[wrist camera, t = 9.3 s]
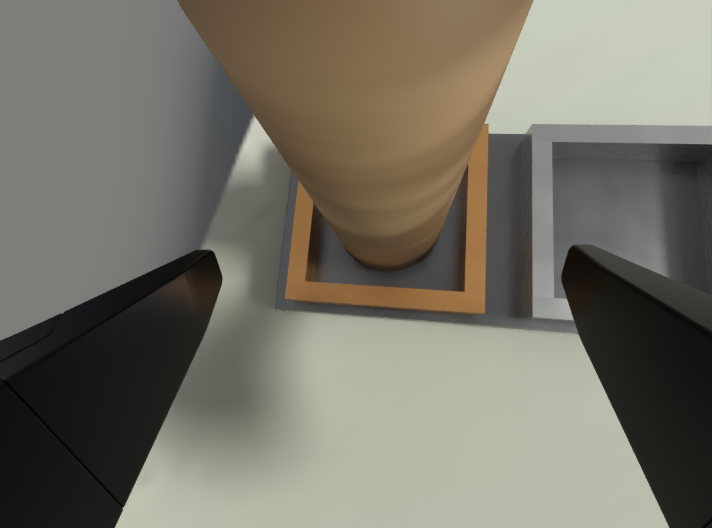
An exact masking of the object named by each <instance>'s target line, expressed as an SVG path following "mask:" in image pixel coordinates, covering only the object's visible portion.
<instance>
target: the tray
mask: <svg viewBox="0 0 712 528" xmlns="http://www.w3.org/2000/svg"><path fill="white" fill-rule="evenodd" d="M576 244H590V245H593V246H596V247H598V248H600V249H603V250H605V251H607V252H610V253H612V254H614V255H617V256H619V257H621V258H624V259H626V260H628V261H631V262H633V263H635V264H638V265H640V266H642V267H645V268H647V269H649V270H652V271H654V272H656V273H659V274H661V275H663V276H666V277H668V278H670V279H672V280H675V281H677V282H679V283H682V284H684V285H686V286H689V287H691V288H693V289H696V290H698V291H700V292H703V293H705V294H707V295H710V296H712V126H658V125H555V124H532V125H531V127H530V128H529V130H528V131H527V133H526V134H488V124H484V125H483V127H482V130H481V132H480V135H479V137H478V140H477V142H476V145H475V147H474V150H473V152H472V155H471V157H470V160H469V162H468V165H467V167H466V170H465V172H464V175H463V177H462V180H461V182H460V185H459V187H458V189H457V192H456V194H455V197H454V199H453V202H452V204H451V207H450V209H449V212H448V214H447V217H446V219H445V222H444V224H443V227H442V229H441V232H440V234H439V237H438V239H437V241H436V244H435V246H434V247H433V249H432V250H431V252H430V253H429V254H428V255H427V256H426V257H425V258H424V259H423V260H422V261H420V262H419V263H417V264H416V265H414V266H412V267H410V268H408V269H405V270H401V271H396V272H381V271H376V270H372V269H369V268H367V267H365V266H363V265H361V264H360V263H358V262H357V261H356V260H355V259H353V258H352V257H351V256H350V254H349V253H348V252H347V250H346V249H345V248H344V246H343V245H342V243H341V242H340V240H339V239H338V237H337V236H336V234H335V233H334V231H333V230H332V228H331V227H330V226H329V224H328V223H327V221H326V220H325V218H324V217H323V215H322V214H321V212H320V211H319V209H318V208H317V206H316V205H315V204H314V202H313V201H312V199H311V198H310V196H309V195H308V193H307V192H306V190H305V189H304V187H303V186H302V184H301V183H300V182H299V180H298V179H297V177H296V176H295V174H294V173H293V171H292V170H291V179H290V187H289V195H288V204H287V212H286V221H285V229H284V237H283V246H282V254H281V263H280V271H279V279H278V288H277V296H276V304H275V309H279V310H289V311H302V312H314V313H327V314H340V315H353V316H366V317H378V318H391V319H404V320H417V321H430V322H442V323H455V324H468V325H481V326H494V327H506V328H519V329H532V330H545V331H557V332H570V333H578V331H577V328H576V325H575V322H574V319H573V316H572V313H571V310H570V307H569V304H568V301H567V298H566V295H565V292H564V288H563V285H562V282H561V273H562V270H563V266H564V263H565V260H566V256H567V253H568V250H569V248H570V247H571V246H572V245H576Z"/></svg>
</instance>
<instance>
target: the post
mask: <svg viewBox="0 0 712 528" xmlns="http://www.w3.org/2000/svg"><path fill="white" fill-rule="evenodd" d="M178 2H179V4H180V6H181V8H182V10H183V11H184V13H185V14H186V16H187V17H188V19H189V20H190V22H191V23H192V24H193V26H194V27H195V29H196V30H197V32H198V33H199V35H200V36H201V37H202V39H203V41H204V42H205V43H206V45H207V46H208V48H209V49H210V51H211V52H212V54H213V55H214V57H215V58H216V60H217V61H218V63H219V64H220V65H221V67H222V69H223V70H224V71H225V73H226V74H227V76H228V77H229V79H230V80H231V82H232V83H233V85H234V86H235V88H236V89H237V90H238V92H239V93H240V95H241V96H242V98H243V99H244V101H245V102H246V104H247V105H248V107H249V108H250V109H251V111H252V113H253V114H254V115H255V117H256V118H257V120H258V121H259V123H260V124H261V126H262V127H263V129H264V130H265V132H266V133H267V135H268V136H269V137H270V139H271V140H272V142H273V143H274V145H275V146H276V148H277V149H278V151H279V152H280V154H281V155H282V157H283V158H284V159H285V161H286V162H287V164H288V165H289V167H290V168H291V170H292V171H293V173H294V174H295V176H296V177H297V179H298V180H299V182H300V183H301V184H302V186H303V187H304V189H305V190H306V192H307V193H308V195H309V196H310V198H311V199H312V201H313V202H314V204H315V205H316V206H317V208H318V209H319V211H320V212H321V214H322V215H323V217H324V218H325V220H326V221H327V223H328V224H329V226H330V227H331V228H332V230H333V231H334V233H335V234H336V236H337V237H338V239H339V240H340V242H341V243H342V245H343V246H344V248H345V249H346V250H347V252H348V253H349V254H350V256H351V257H352V258H353V259H355V260H356V261H357V262H358V263H360V264H361V265H363V266H365V267H367V268H369V269H372V270H376V271H381V272H396V271H401V270H405V269H408V268H410V267H412V266H414V265H416V264H417V263H419V262H420V261H422V260H423V259H424V258H425V257H426V256H427V255H428V254H429V253H430V252H431V250H432V249H433V247H434V246H435V244H436V241H437V239H438V237H439V234H440V232H441V229H442V227H443V224H444V222H445V219H446V217H447V214H448V212H449V209H450V207H451V204H452V202H453V199H454V197H455V194H456V192H457V189H458V187H459V185H460V182H461V180H462V177H463V175H464V172H465V170H466V167H467V165H468V162H469V160H470V157H471V155H472V152H473V150H474V147H475V145H476V142H477V140H478V137H479V135H480V132H481V130H482V127H483V125H484V122H485V120H486V117H487V115H488V112H489V110H490V107H491V105H492V102H493V100H494V97H495V95H496V92H497V90H498V87H499V85H500V82H501V80H502V77H503V75H504V72H505V70H506V67H507V65H508V62H509V60H510V57H511V55H512V52H513V50H514V47H515V45H516V43H517V40H518V38H519V35H520V33H521V30H522V28H523V25H524V23H525V20H526V18H527V15H528V13H529V10H530V8H531V5H532V3H533V0H178Z"/></svg>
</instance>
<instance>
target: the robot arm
mask: <svg viewBox="0 0 712 528" xmlns="http://www.w3.org/2000/svg"><path fill="white" fill-rule="evenodd" d="M561 282H562V285H563V288H564V292H565V295H566V298H567V301H568V304H569V307H570V310H571V313H572V316H573V319H574V322H575V325H576V328H577V331H578V334H579V336H580V338H581V341H582V343H583V345H584V347H585V349H586V352H587V354H588V356H589V358H590V360H591V362H592V364H593V366H594V369H595V371H596V373H597V375H598V377H599V379H600V381H601V383H602V386H603V388H604V390H605V392H606V394H607V396H608V398H609V400H610V402H611V405H612V407H613V409H614V411H615V413H616V415H617V417H618V419H619V422H620V424H621V426H622V428H623V430H624V432H625V434H626V436H627V439H628V441H629V443H630V445H631V447H632V449H633V451H634V453H635V456H636V458H637V460H638V462H639V464H640V466H641V468H642V470H643V473H644V475H645V477H646V479H647V481H648V483H649V485H650V487H651V489H652V492H653V494H654V496H655V498H656V500H657V502H658V504H659V506H660V509H661V511H662V513H663V515H664V517H665V519H666V521H667V523H668V526H669V528H712V296H710V295H707V294H705V293H703V292H700V291H698V290H696V289H693V288H691V287H689V286H686V285H684V284H682V283H679V282H677V281H675V280H672V279H670V278H668V277H666V276H663V275H661V274H659V273H656V272H654V271H652V270H649V269H647V268H645V267H642V266H640V265H638V264H635V263H633V262H631V261H628V260H626V259H624V258H621V257H619V256H617V255H614V254H612V253H610V252H607V251H605V250H603V249H600V248H598V247H596V246H593V245H590V244H576V245H572V246H571V247H570V248H569V250H568V253H567V256H566V260H565V263H564V266H563V270H562V273H561ZM221 285H222V274H221V271H220V268H219V265H218V262H217V259H216V256H215V254H214V252H213V251H211V250H195V251H193V252H191V253H189V254H186V255H185V256H182V257H180V258H178V259H176V260H174V261H172V262H169V263H167V264H165V265H163V266H161V267H159V268H157V269H154V270H152V271H150V272H148V273H146V274H144V275H142V276H140V277H137V278H135V279H133V280H131V281H129V282H127V283H125V284H122V285H120V286H119V287H116V288H114V289H112V290H110V291H108V292H106V293H103V294H101V295H99V296H97V297H95V298H93V299H91V300H88V301H86V302H84V303H82V304H80V305H78V306H76V307H74V308H71V309H69V310H67V311H65V312H64V313H63V314H59V315H56V316H54V317H52V318H50V319H48V320H46V321H44V322H41V323H39V324H37V325H35V326H32V327H30V328H28V329H27V330H24V331H22V332H20V333H17V334H15V335H13V336H10V337H8V338H6V339H3V340H1V341H0V528H115V526H116V524H117V522H118V520H119V517H120V515H121V513H122V511H123V507H124V506H125V504H126V502H127V500H128V498H129V495H130V493H131V491H132V489H133V487H134V485H135V482H136V480H137V478H138V476H139V474H140V472H141V470H142V467H143V465H144V463H145V461H146V459H147V457H148V455H149V452H150V450H151V448H152V446H153V444H154V442H155V440H156V437H157V435H158V433H159V431H160V429H161V427H162V424H163V422H164V420H165V418H166V416H167V414H168V412H169V409H170V407H171V405H172V403H173V401H174V399H175V397H176V394H177V392H178V390H179V388H180V386H181V384H182V382H183V379H184V377H185V375H186V373H187V371H188V369H189V367H190V364H191V362H192V360H193V358H194V356H195V354H196V351H197V349H198V347H199V345H200V343H201V341H202V339H203V336H204V334H205V332H206V329H207V327H208V324H209V321H210V318H211V315H212V312H213V309H214V306H215V303H216V300H217V297H218V294H219V291H220V288H221Z"/></svg>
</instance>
